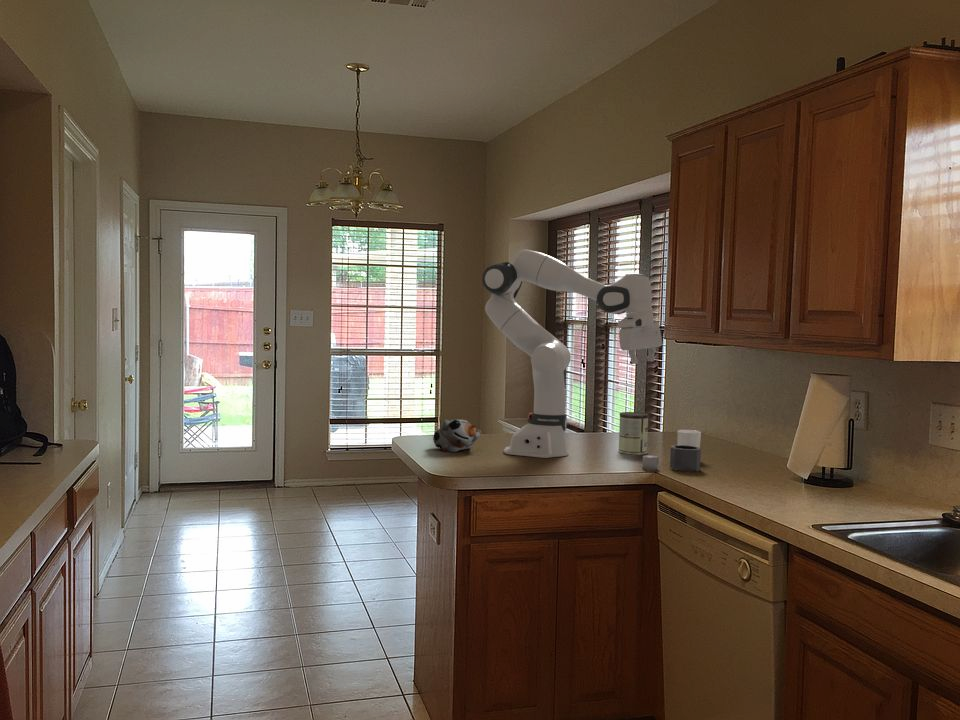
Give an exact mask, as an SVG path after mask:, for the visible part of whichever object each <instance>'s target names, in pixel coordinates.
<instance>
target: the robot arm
mask: <svg viewBox="0 0 960 720" xmlns="http://www.w3.org/2000/svg"><path fill="white" fill-rule="evenodd" d="M481 281H482V285H483V287H484V289H485V290H486V291H487V292H488V293H490V294H491V295H490V298H489V299H488V300H487V302H486V304H485V306H484V310H485V314H486V315H487V316H488V318H489V319H490V321H491V322H492V323H493V325H494V326H495V327H496V328H497V329H498V330H499V331H500V332H501V333H502V334H503V335H504V336H505V337H506V338H507V339H508V340H509V341H510V342H511V343H513V345H514V346H516V347H517V348H518V349H520V350H521V351H522V352H524V353H526V355H528V356H529V357H530V364H531V369H532V370H531V371H532V381H533V391H534V393H533V394H534V395H533V412H529V413H528V414H527V423H526V424H525V425H523V426H521V428H520V429H518V430H516V431H515V432H514V433H513V435H512V436H511V440H510V443H509V444H510V445H509V446H505V448H504V449H503V453H504V454H505V455H514V456H524V457H532V458H533V457H534V458H543V459H548V458H549V459H550V458H557V457H560V458H561V457H566V456H569V450H568V447H567V439H566V437H567V436H566V430H567V421H568V419H567V414H566V400H567V390H566V385H565V373H564V371H565V370H566V369H567V368H568V367H569V365H570V363H571V357H572V356H571V351H570V350H569V348H568V347H567V346H566V345H565V344H564V343H562V342H561V341H560V340H559V339H558V338H557V337H556V336H554V335H553V334H552V333H551V332H549V331H548V330H546V329H545V328H544V327H543V326H542V325H541V324H539V323H538V322H537V321H536V319H534V318H533V317H532V316H531V315H530V314H529V313H528V312H527V311H526V310H525V309H523V307H521V305H519V304H518V302H516V300H515V299H516V297H517V296H518V293H519V291H520V289H521V288H522V284H523V282H528V283H531V284H533V285H536V286H538V287H540V288H543V289H545V290H546V289H547V290H549V291H554V292H555V291H556V292H568V293H569V292H570V293H575V294H578V295H581V296H583V297H585V298H589V299H590V300H593V301H595V302H596V305H597V306H598V308H599V309H600V310H601V311H602V312H604V313H607V314H614V315H622V314H624V313H625V315H626V316H625V317H624V318H622V319H621V320H619V321H618V323H617V328H619V332H618V339H619V340H618V341H619V348H620V349H621V351H628V352H627V354H628V356H629V358H630V359H631V360H630V362H631V364H632V365H634V364H635V365H636V364H638V363H639V358H638V357H637V355H636V354H637V350H643V349H647V352H648V355H647V356H646V359H647V360H646V361H647V362H654V361H655V353H656V348H659V347H661V346H662V345H663V340H662V339H663V338H662V333H661V328H660V326H659V324H658V322H657V321H656V320H655V319H654V310H653V307H652V302H653V301H652V300H653V295H652V294H653V293H652V287H651V286H652V285H651V281H650V278H649V277H648V276H647V275H646V274H643V273H635V272H629V273H625V275H624V276H623V277H622V278H620V279H618V280H617V281H615V282H613V283H610V284H608V285H607V284H604V283H601V282H599V281H596V280H594V279H591V278H590V277H586V276H584V275H583V274H580V273H579V272H577V271H576V270H574V269H573V268H571V267H570V266H569V265H567V264H565V263H564V262H563V261H561V260H559V259H557V258H556V257H553V256H551V255H548V254H545V253H543V252H539V251H536V250H531V249H525V248H524V249H521V250H519V251H518V252H517V253H516V255H515V256H514V258H513V261H512V262H510V261H504V262H497V263H493V264H490V265H489V266H488V267H485V269H484V271H483V272H482V275H481Z"/></svg>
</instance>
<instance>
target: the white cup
mask: <svg viewBox="0 0 960 720" xmlns="http://www.w3.org/2000/svg"><path fill="white" fill-rule="evenodd" d="M701 437H702V432H701V431H700V430H695V429H678V430H677V445H688V446H696V447H699V448H701V447H700V446H701Z"/></svg>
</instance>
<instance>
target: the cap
mask: <svg viewBox="0 0 960 720" xmlns="http://www.w3.org/2000/svg"><path fill="white" fill-rule="evenodd" d="M659 460H660V458H659V456H657V455H652V454H651V455H649V454H647V455H646V454H645V455H642V469H643V470H645V469H646V471H657V470H656V469H658V470H659Z"/></svg>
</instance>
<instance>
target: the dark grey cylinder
mask: <svg viewBox="0 0 960 720" xmlns="http://www.w3.org/2000/svg"><path fill="white" fill-rule="evenodd" d="M701 452H702V448H701V447H700V448H699V447H696V446H688V445H678V444H676V445H675V444H674V445H670V452H669V469H670V468H672V469H671V470H673V469H677V470H683V471H682V472H687V471H694V472H698V471H697V470H701V455H702V454H701ZM677 470H676V471H677Z"/></svg>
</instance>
